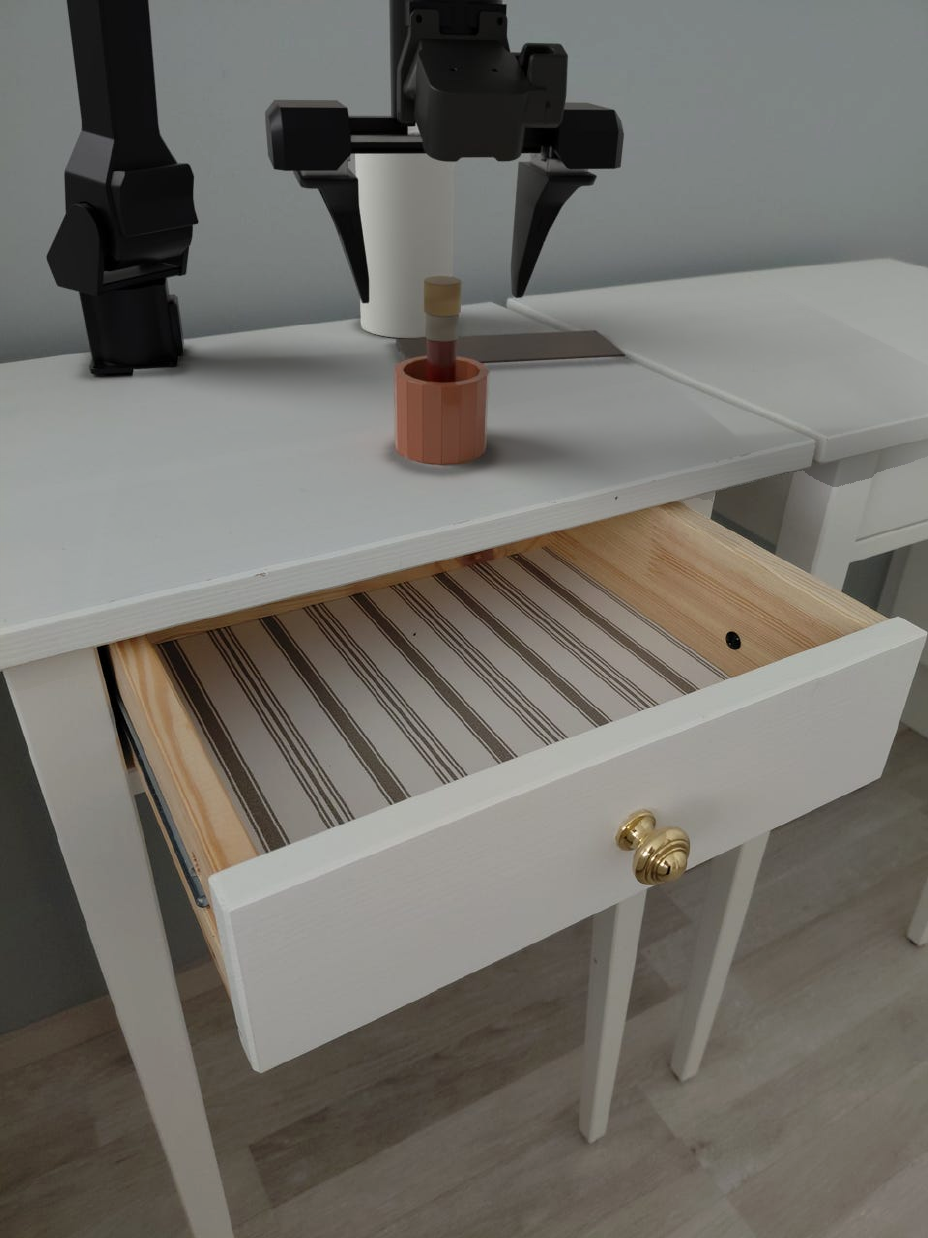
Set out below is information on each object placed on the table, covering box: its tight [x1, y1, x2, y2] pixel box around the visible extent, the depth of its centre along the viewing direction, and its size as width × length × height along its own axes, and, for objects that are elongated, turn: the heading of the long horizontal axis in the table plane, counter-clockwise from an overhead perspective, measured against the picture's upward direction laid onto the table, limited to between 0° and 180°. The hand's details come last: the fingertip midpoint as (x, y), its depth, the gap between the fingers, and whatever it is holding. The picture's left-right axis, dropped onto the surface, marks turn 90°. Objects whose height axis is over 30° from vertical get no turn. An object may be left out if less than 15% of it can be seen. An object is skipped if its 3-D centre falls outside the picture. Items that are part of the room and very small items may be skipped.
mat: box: [395, 329, 626, 364], centre depth 78 cm, size 18×7×1 cm, turn 103°
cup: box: [354, 124, 456, 339], centre depth 80 cm, size 8×8×16 cm
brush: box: [424, 276, 462, 383], centre depth 57 cm, size 2×2×10 cm
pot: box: [393, 356, 490, 466], centre depth 59 cm, size 6×6×6 cm
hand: (442, 298), depth 55 cm, fingers open, 9 cm apart
